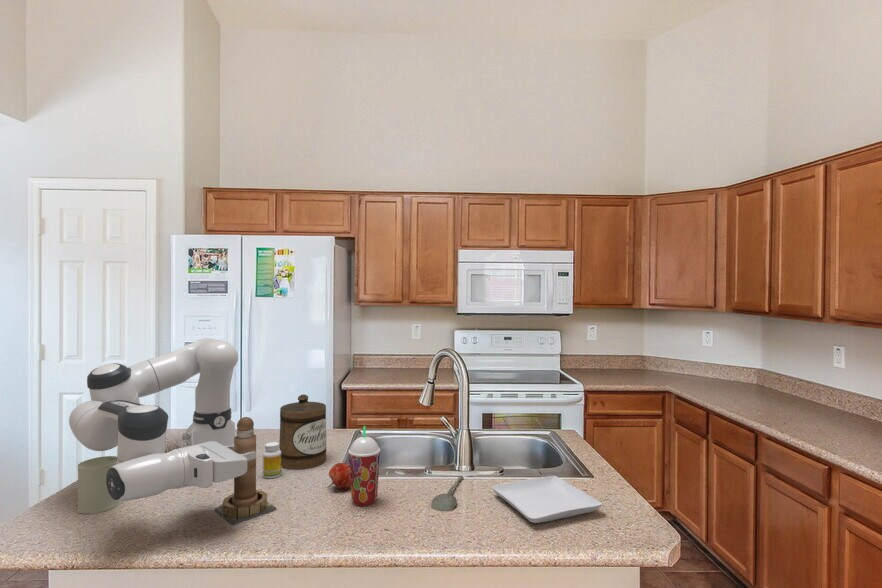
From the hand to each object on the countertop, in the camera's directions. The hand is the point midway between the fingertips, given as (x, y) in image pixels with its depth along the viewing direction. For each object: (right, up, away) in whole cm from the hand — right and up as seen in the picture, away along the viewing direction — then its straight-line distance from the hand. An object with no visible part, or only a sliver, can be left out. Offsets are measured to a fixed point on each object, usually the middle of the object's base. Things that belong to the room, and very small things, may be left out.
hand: (248, 451), depth 123 cm
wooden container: (+4, -15, +35) cm, 38 cm away
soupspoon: (+52, -16, +9) cm, 55 cm away
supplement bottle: (-2, -15, +23) cm, 27 cm away
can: (-40, -15, +2) cm, 42 cm away
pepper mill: (-1, -14, -1) cm, 14 cm away
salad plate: (+76, -16, +3) cm, 78 cm away
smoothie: (+29, -15, +5) cm, 33 cm away
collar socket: (-1, -15, -1) cm, 15 cm away
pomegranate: (+21, -15, +14) cm, 29 cm away
